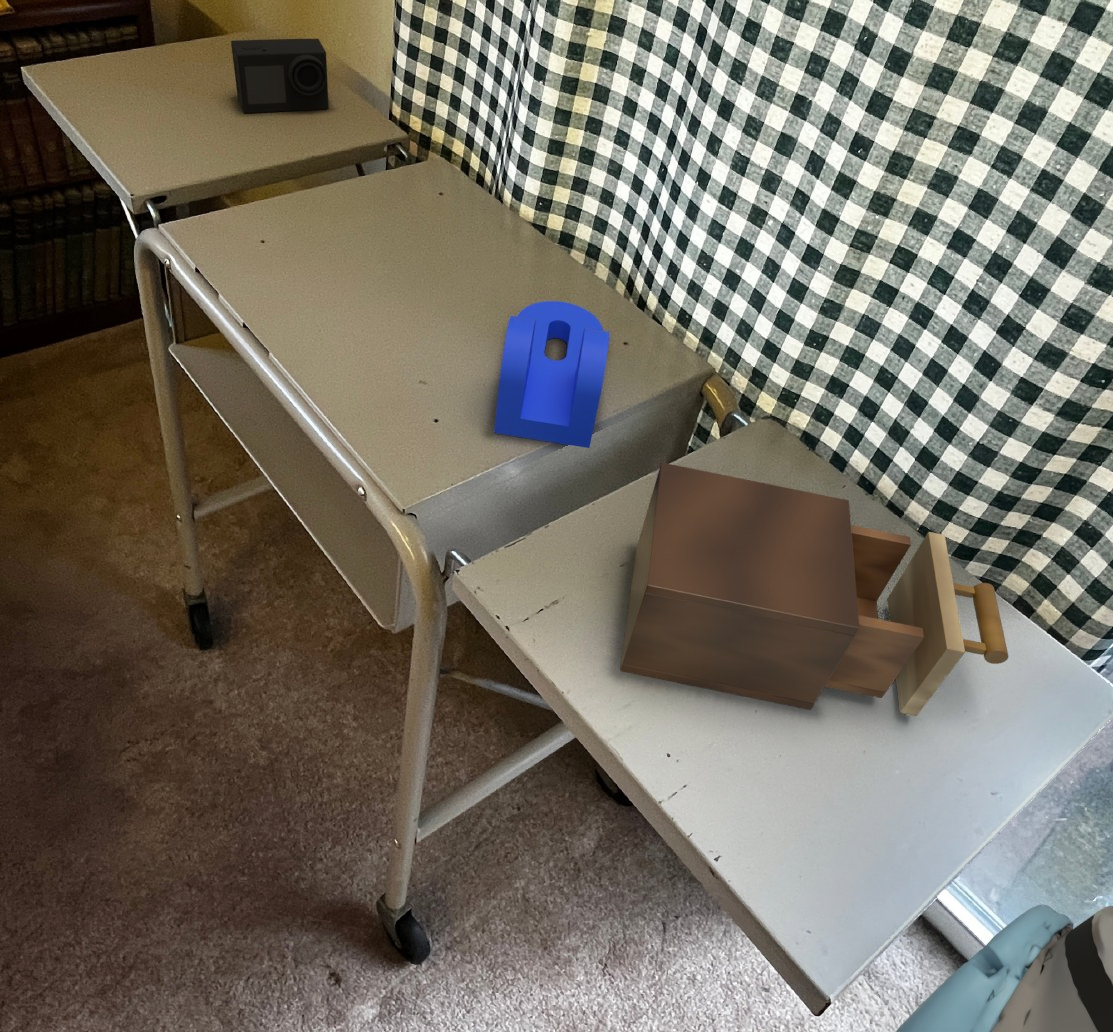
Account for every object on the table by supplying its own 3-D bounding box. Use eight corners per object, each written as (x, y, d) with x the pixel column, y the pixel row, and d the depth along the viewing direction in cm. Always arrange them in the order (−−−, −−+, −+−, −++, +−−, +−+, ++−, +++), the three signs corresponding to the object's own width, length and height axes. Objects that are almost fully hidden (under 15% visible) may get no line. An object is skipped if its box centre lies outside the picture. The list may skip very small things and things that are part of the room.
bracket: (589, 448, 82) (606, 365, 76) (494, 432, 82) (503, 348, 76) (602, 326, 95) (617, 246, 88) (519, 313, 94) (528, 231, 88)
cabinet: (806, 584, 75) (849, 499, 68) (810, 710, 67) (859, 628, 60) (636, 549, 75) (661, 461, 68) (620, 670, 67) (647, 585, 60)
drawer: (956, 612, 74) (1003, 546, 68) (976, 729, 66) (1031, 665, 61) (742, 569, 74) (772, 499, 68) (740, 680, 67) (772, 612, 61)
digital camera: (244, 118, 114) (238, 58, 109) (236, 98, 118) (229, 39, 112) (331, 114, 118) (328, 56, 113) (321, 94, 121) (318, 37, 116)
